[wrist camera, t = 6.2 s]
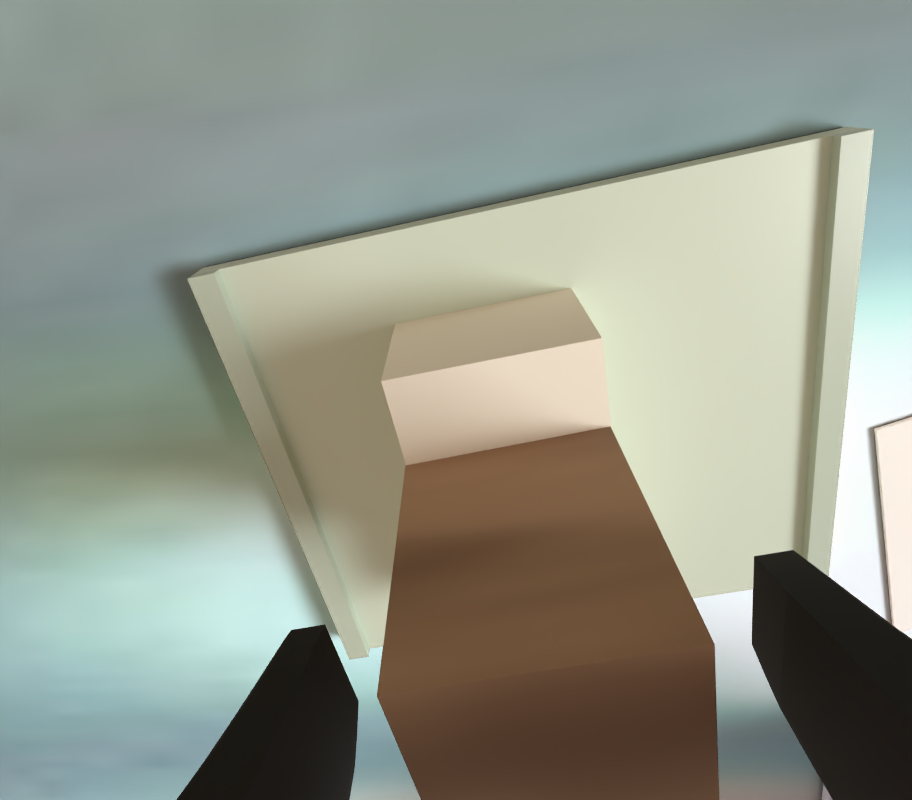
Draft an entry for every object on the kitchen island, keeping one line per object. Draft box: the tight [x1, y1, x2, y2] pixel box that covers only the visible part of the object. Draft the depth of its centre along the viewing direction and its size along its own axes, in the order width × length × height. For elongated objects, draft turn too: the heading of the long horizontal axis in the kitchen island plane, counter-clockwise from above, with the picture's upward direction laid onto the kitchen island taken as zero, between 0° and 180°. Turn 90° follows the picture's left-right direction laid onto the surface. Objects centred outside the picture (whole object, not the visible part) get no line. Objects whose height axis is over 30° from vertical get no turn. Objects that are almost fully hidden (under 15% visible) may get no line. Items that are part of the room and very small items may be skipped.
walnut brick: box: [377, 426, 719, 800], centre depth 10 cm, size 4×4×5 cm
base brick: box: [381, 288, 611, 465], centre depth 14 cm, size 8×4×3 cm, turn 12°
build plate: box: [187, 127, 874, 660], centre depth 15 cm, size 12×14×1 cm
